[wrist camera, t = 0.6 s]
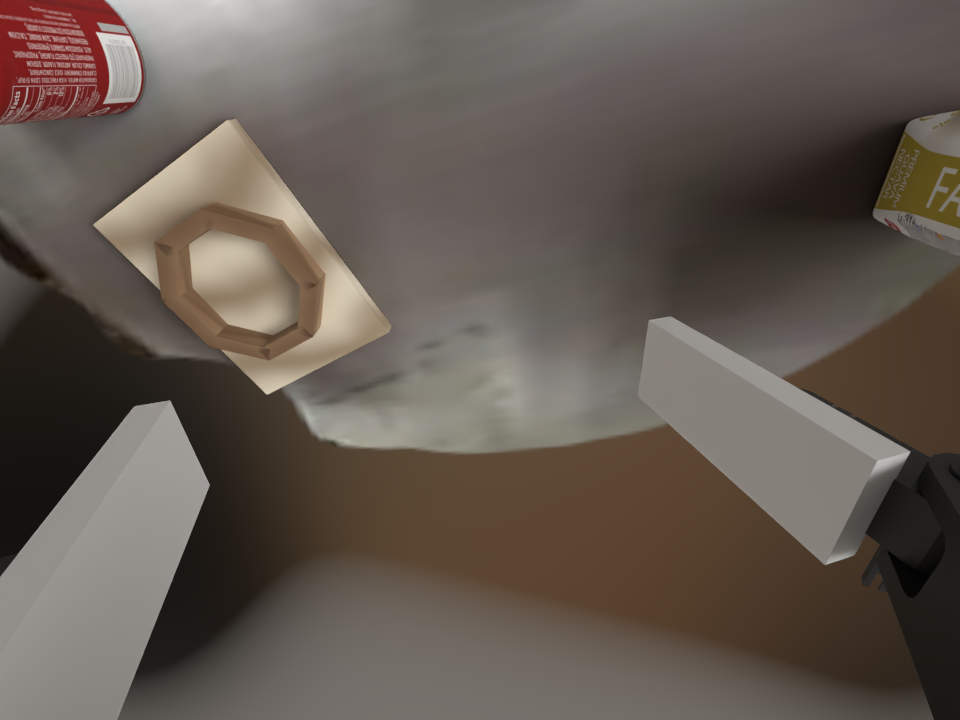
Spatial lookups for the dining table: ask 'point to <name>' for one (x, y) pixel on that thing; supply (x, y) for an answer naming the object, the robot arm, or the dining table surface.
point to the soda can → (66, 61)
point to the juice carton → (925, 183)
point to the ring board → (244, 261)
